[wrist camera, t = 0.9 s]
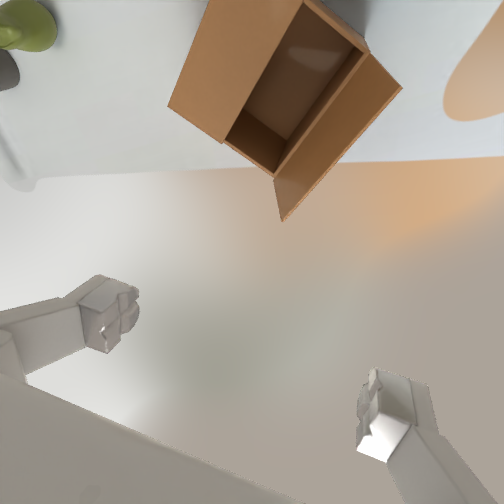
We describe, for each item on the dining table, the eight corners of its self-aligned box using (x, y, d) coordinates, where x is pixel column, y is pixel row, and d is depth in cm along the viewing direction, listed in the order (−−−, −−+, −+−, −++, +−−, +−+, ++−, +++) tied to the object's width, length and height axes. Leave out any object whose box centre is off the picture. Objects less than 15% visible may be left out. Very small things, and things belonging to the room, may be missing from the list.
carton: (264, -47, 33) (233, -64, 24) (364, 38, 36) (371, 53, 27) (204, 82, 43) (166, 106, 33) (287, 143, 45) (273, 181, 36)
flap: (400, 85, 22) (403, 88, 23) (369, 52, 27) (372, 54, 27) (281, 221, 32) (283, 222, 32) (273, 180, 36) (275, 181, 36)
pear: (24, 28, 44) (-44, 35, 36) (29, -14, 40) (-45, -16, 33) (62, 56, 45) (4, 68, 37) (70, 17, 41) (8, 22, 34)
